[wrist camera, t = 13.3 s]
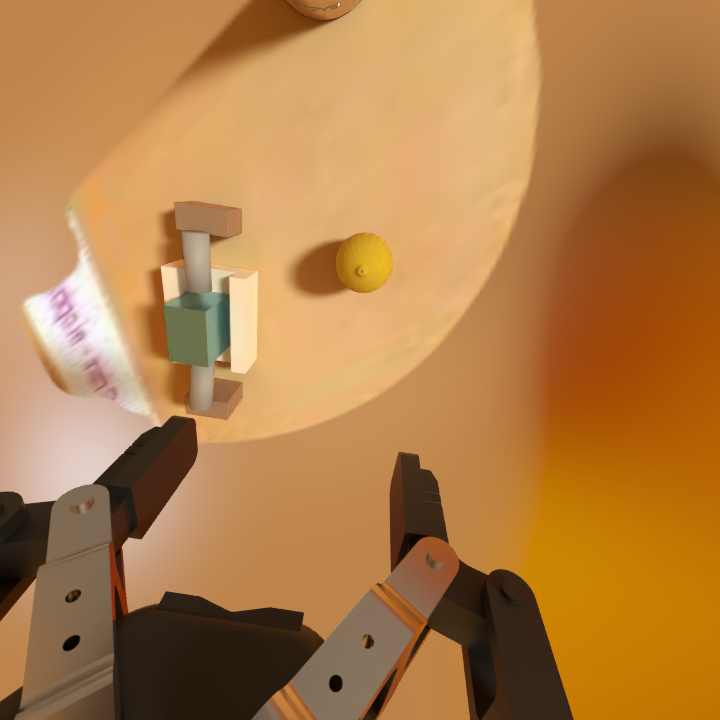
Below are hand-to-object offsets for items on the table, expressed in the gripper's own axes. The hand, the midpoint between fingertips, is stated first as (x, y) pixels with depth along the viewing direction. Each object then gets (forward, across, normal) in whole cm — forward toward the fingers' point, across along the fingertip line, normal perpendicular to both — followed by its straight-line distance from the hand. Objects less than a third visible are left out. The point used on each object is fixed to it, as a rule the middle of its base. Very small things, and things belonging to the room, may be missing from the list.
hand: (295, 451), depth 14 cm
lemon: (+28, -1, -3) cm, 28 cm away
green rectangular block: (+26, +15, +6) cm, 31 cm away
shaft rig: (+28, +15, +6) cm, 32 cm away
